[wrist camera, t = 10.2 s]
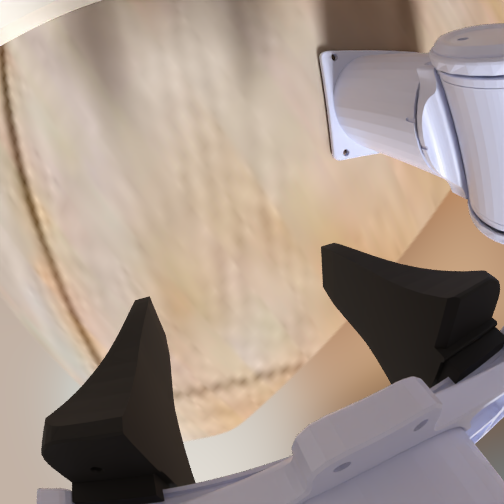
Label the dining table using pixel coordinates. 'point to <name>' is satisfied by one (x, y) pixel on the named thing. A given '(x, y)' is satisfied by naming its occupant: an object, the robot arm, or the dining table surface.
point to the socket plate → (32, 14)
